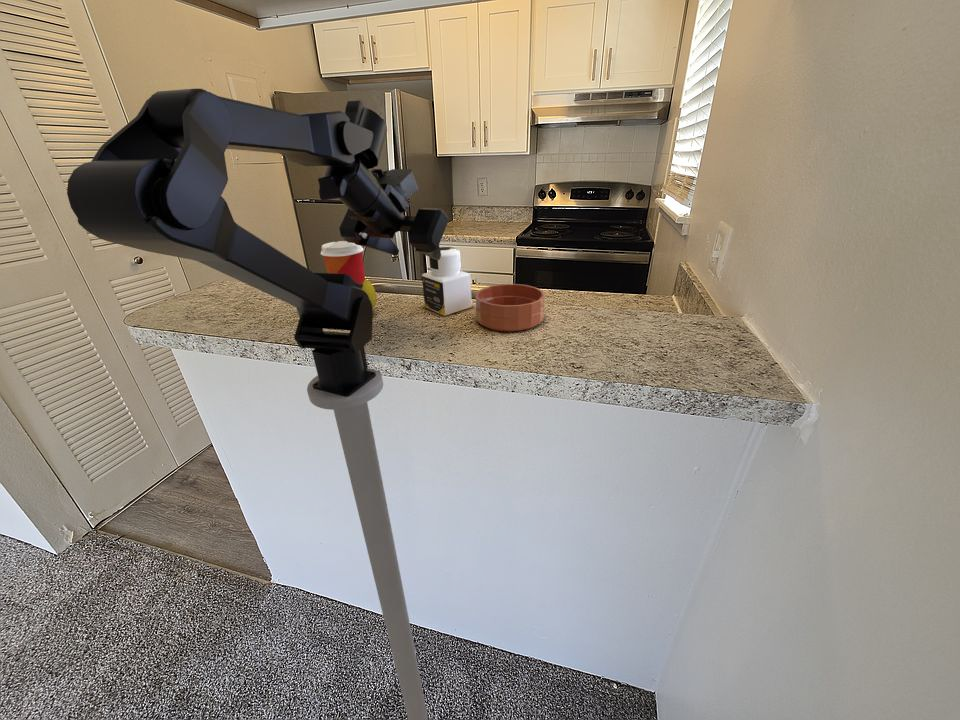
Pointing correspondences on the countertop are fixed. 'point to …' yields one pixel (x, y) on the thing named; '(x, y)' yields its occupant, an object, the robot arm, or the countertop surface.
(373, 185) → the robot arm
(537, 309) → the bowl
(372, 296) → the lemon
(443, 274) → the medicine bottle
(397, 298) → the countertop surface
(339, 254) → the paper cup
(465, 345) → the countertop surface
